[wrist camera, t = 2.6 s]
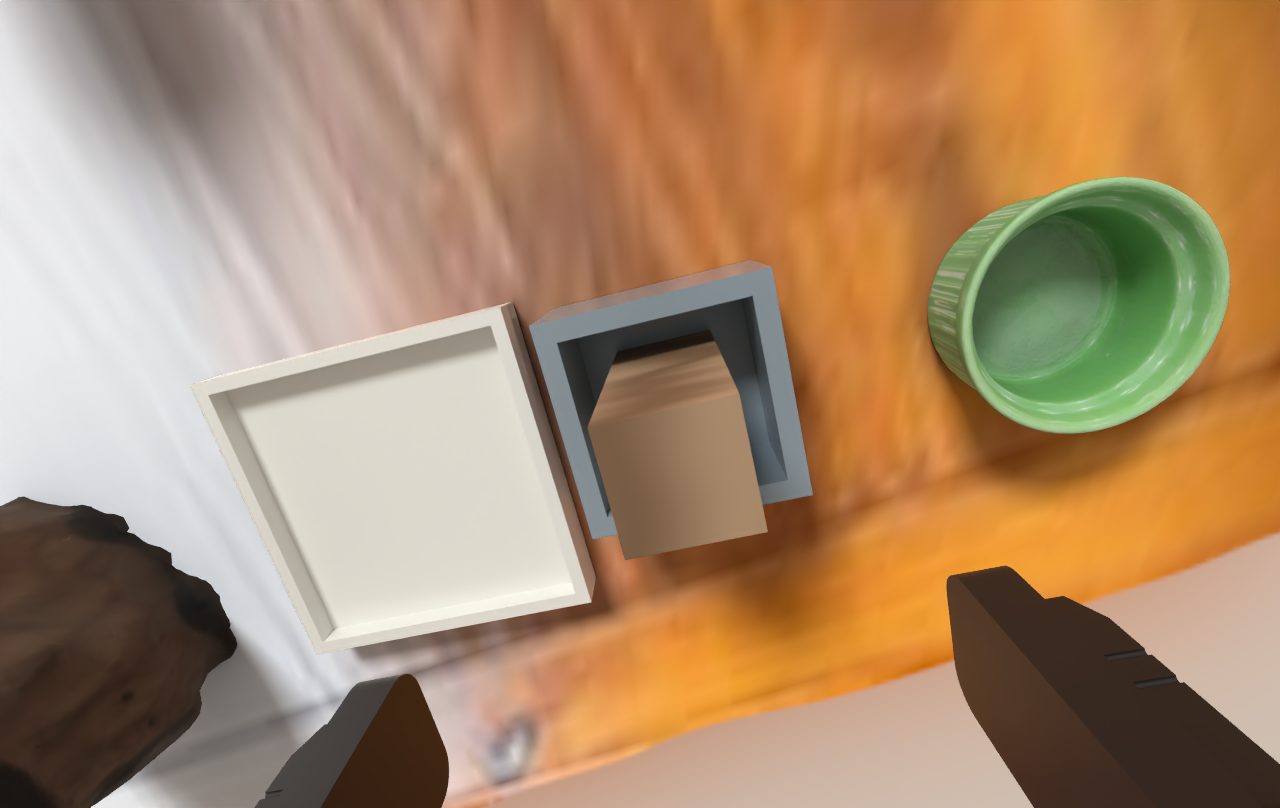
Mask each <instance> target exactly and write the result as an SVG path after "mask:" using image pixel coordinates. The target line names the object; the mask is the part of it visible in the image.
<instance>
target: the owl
mask: <svg viewBox="0 0 1280 808" xmlns="http://www.w3.org/2000/svg"><path fill="white" fill-rule="evenodd" d="M128 529H129V527H128V525H127V523H126V522H125V520H124V518H123V517H121V516H118V515H115V514H106V513H103V512H100V511H98V510H96V509H94V508H92V507H89V506H85V505H78V506H70V507H69V506H57V505H52V504H46V503H42V502H37V501H33V500H30V499H28V498H26V497H18V498H17V499H15V500H13V501H11V502H9V503H7V504H4V505H2V506H0V808H91V806H93V805H95V804H97V803H98V802H99V801H101V800H102V799H103V798H105V797H106V796H108V795H109V794H110V793H112V792H113V791H115V790H116V789H117V788H119V787H120V786H122V785H123V784H124V783H126V782H127V781H128V780H130V779H131V778H132V777H133V776H134V775H135V774H136V773H138V772H139V771H141V770H142V769H143V768H144V767H145V766H146V765H147V764H149V763H150V762H151V761H152V760H154V759H155V758H156V757H157V756H158V755H159V754H160V753H161V752H162V751H164V750H165V749H166V748H167V747H169V746H170V745H171V744H172V743H173V742H175V741H176V740H177V739H178V738H179V737H180V736H181V735H182V734H183V733H184V732H186V731H187V730H188V729H189V728H190V727H191V725H192V724H193V723H194V721H195V720H196V719H197V717H198V715H199V714H200V710H201V705H202V702H201V696H200V689H201V687H202V684H203V682H204V680H205V678H206V676H207V674H208V673H209V672H210V671H211V670H212V669H214V668H216V667H217V666H218V665H219V664H220V663H222V662H223V661H225V660H227V659H229V658H230V657H231V656H232V655H233V653H234V651H235V649H236V647H237V642H236V639H235V637H234V635H233V633H232V631H231V630H230V628H229V627H230V623H229V619H228V618H227V616H226V614H225V612H224V610H223V608H222V605H221V603H220V596H219V595H218V594H217V593H216V592H215V591H214V590H213V588H212V586H211V585H210V584H209V583H208V582H206V581H204V580H201V579H199V578H198V577H194V576H190V575H187V574H185V573H184V572H182V571H180V570H178V569H175V568H174V567H173V566H172V565H171V553H169V552H168V551H166V550H164V549H163V548H161V547H157V546H153V545H150V544H147V543H145V542H144V541H142V540H141V539H140V538H138V537H137V536H136V535H134V534H132V533H128V532H127V530H128Z"/></svg>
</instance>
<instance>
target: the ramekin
mask: <svg viewBox="0 0 1280 808" xmlns="http://www.w3.org/2000/svg"><path fill="white" fill-rule="evenodd" d="M1229 292H1230V269H1229V260H1228V255H1227V252H1226V248H1225V245H1224V243H1223V240H1222V237H1221V235H1220V233H1219V230H1218V228H1217V227H1216V225H1215V224H1214V222H1213V221H1212V219H1211V217H1210V216H1209V215H1208V214H1207V213H1206V212H1205V210H1204V209H1203V208H1202V207H1201V206H1199V205H1198V204H1197V203H1196V202H1195V201H1194V200H1193V199H1191V198H1190V197H1188V196H1187V195H1185V194H1184V193H1182V192H1181V191H1179V190H1177V189H1175V188H1173V187H1171V186H1169V185H1166V184H1163V183H1160V182H1156V181H1153V180H1148V179H1142V178H1135V177H1110V178H1101V179H1095V180H1090V181H1085V182H1081V183H1077V184H1074V185H1071V186H1068V187H1065V188H1063V189H1060V190H1057V191H1055V192H1052V193H1050V194H1048V195H1046V196H1041V197H1037V198H1032V199H1027V200H1023V201H1019V202H1016V203H1013V204H1010V205H1008V206H1005V207H1002V208H1000V209H998V210H996V211H994V212H992V213H991V214H989V215H987V216H986V217H984V218H983V219H981V220H980V221H978V222H977V223H975V224H974V225H973V226H972V227H971V228H970V229H968V230H967V231H966V232H965V233H964V234H963V235H962V236H961V237H960V238H959V239H958V240H957V241H956V242H955V244H954V245H953V246H952V247H951V249H950V250H949V251H948V253H947V254H946V255H945V257H944V259H943V261H942V262H941V264H940V266H939V268H938V270H937V272H936V275H935V278H934V280H933V283H932V287H931V291H930V294H929V299H928V325H929V329H930V335H931V338H932V340H933V343H934V346H935V348H936V350H937V352H938V353H939V355H940V357H941V359H942V361H943V362H944V363H945V364H946V366H947V367H948V368H949V369H950V370H951V371H952V372H953V373H954V374H955V375H956V376H957V377H958V378H959V379H961V380H962V381H963V382H965V383H966V384H968V385H969V386H970V387H972V388H973V389H975V390H976V391H977V392H978V393H979V394H980V396H981V397H982V398H983V399H984V400H985V401H986V402H987V403H988V404H989V405H990V406H991V407H993V408H994V409H995V410H996V411H998V412H999V413H1000V414H1002V415H1003V416H1005V417H1006V418H1008V419H1010V420H1012V421H1014V422H1016V423H1018V424H1020V425H1022V426H1025V427H1028V428H1031V429H1035V430H1039V431H1044V432H1050V433H1061V434H1075V433H1086V432H1093V431H1099V430H1103V429H1107V428H1110V427H1114V426H1117V425H1119V424H1122V423H1124V422H1127V421H1129V420H1131V419H1134V418H1136V417H1138V416H1140V415H1142V414H1144V413H1146V412H1147V411H1149V410H1150V409H1152V408H1154V407H1155V406H1157V405H1158V404H1159V403H1160V402H1162V401H1164V400H1165V399H1167V398H1168V397H1169V396H1170V395H1171V394H1173V393H1174V392H1175V391H1176V390H1177V389H1178V388H1179V387H1180V386H1182V385H1183V384H1184V383H1185V382H1186V380H1187V379H1188V378H1189V377H1190V376H1191V375H1192V374H1193V373H1194V372H1195V370H1196V369H1197V368H1198V366H1199V365H1200V364H1201V362H1202V361H1203V359H1204V358H1205V356H1206V355H1207V353H1208V352H1209V350H1210V348H1211V346H1212V345H1213V343H1214V341H1215V339H1216V337H1217V334H1218V332H1219V330H1220V328H1221V325H1222V322H1223V319H1224V316H1225V312H1226V309H1227V304H1228V300H1229Z"/></svg>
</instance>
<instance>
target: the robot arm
mask: <svg viewBox="0 0 1280 808" xmlns="http://www.w3.org/2000/svg"><path fill="white" fill-rule="evenodd" d="M947 598H948V607H949V616H950V624H951V633H952V642H953V651H954V660H955V667H956V671H957V676H958V680H959V683H960V686H961V689H962V691H963V694H964V696H965V698H966V701H967V703H968V705H969V707H970V709H971V711H972V713H973V714H974V716H975V718H976V719H977V721H978V722H979V724H980V725H981V727H982V728H983V730H984V732H985V733H986V735H987V736H988V738H989V739H990V740H991V742H992V744H993V745H994V747H995V748H996V750H997V752H998V753H999V754H1000V756H1001V758H1002V759H1003V761H1004V762H1005V764H1006V765H1007V767H1008V768H1009V770H1010V772H1011V773H1012V774H1013V776H1014V778H1015V779H1016V781H1017V782H1018V784H1019V785H1020V787H1021V788H1022V790H1023V791H1024V793H1025V795H1026V796H1027V798H1028V799H1029V801H1030V802H1031V804H1032V805H1033V807H1034V808H1280V764H1279V763H1278V762H1276V761H1275V760H1274V759H1273V758H1272V757H1271V756H1269V755H1268V754H1267V753H1266V752H1265V751H1264V750H1263V749H1261V748H1260V747H1259V746H1258V745H1257V744H1255V743H1254V742H1253V741H1252V740H1251V739H1250V738H1249V737H1247V736H1246V735H1245V734H1244V733H1243V732H1242V731H1240V730H1239V729H1238V728H1237V727H1236V726H1235V725H1233V724H1232V723H1231V722H1229V720H1228V719H1226V718H1225V717H1224V716H1223V715H1221V714H1220V713H1219V712H1218V711H1217V710H1216V709H1215V708H1213V707H1212V706H1211V705H1210V704H1209V703H1208V702H1207V701H1205V700H1204V699H1203V698H1202V697H1201V696H1199V695H1198V694H1197V693H1196V692H1195V691H1194V690H1192V689H1191V688H1190V687H1189V686H1188V685H1187V684H1185V683H1184V682H1183V683H1180V682H1179V681H1178V680H1177V678H1176V675H1175V674H1174V673H1173V672H1171V671H1170V670H1169V669H1168V668H1167V667H1165V666H1164V665H1163V664H1162V663H1161V662H1160V661H1158V660H1157V659H1156V658H1155V657H1154V656H1153V655H1147V653H1146V652H1145V649H1144V648H1143V647H1142V646H1141V645H1140V644H1139V643H1138V642H1136V641H1135V640H1134V639H1133V638H1131V636H1129V635H1128V634H1127V633H1126V632H1125V631H1124V630H1122V629H1121V628H1120V627H1119V626H1117V624H1115V623H1114V622H1113V621H1112V620H1111V619H1110V618H1108V617H1106V616H1104V615H1102V614H1100V613H1098V612H1096V611H1093V610H1092V609H1089V608H1087V607H1085V606H1083V605H1081V604H1079V603H1077V602H1075V601H1073V600H1071V599H1069V598H1067V597H1065V596H1060V597H1055V598H1049V599H1044V598H1043V597H1042V596H1041V595H1040V594H1039V593H1038V592H1037V591H1036V590H1035V589H1033V588H1032V587H1031V586H1030V585H1029V584H1028V583H1027V582H1026V581H1025V580H1024V579H1023V578H1022V577H1021V576H1020V575H1019V574H1018V573H1017V572H1016V571H1014V570H1013V569H1012V568H1010V567H1008V566H1000V567H995V568H989V569H984V570H978V571H973V572H967V573H962V574H957V575H951V576H949V577H948V579H947ZM448 780H449V763H448V756H447V752H446V749H445V746H444V744H443V741H442V739H441V737H440V734H439V732H438V729H437V727H436V724H435V722H434V720H433V717H432V715H431V712H430V710H429V707H428V705H427V703H426V700H425V698H424V695H423V693H422V690H421V688H420V686H419V684H418V682H417V680H416V679H415V678H414V677H413V676H412V675H410V674H403V675H397V676H392V677H386V678H381V679H375V680H370V681H364V682H360V683H358V684H356V685H355V686H354V687H353V688H352V689H351V691H350V692H349V693H348V695H347V696H346V698H345V699H344V701H343V702H342V704H341V705H340V707H339V708H338V710H337V711H336V713H335V714H334V716H333V717H332V718H331V720H330V721H329V723H328V724H326V725H324V726H323V727H322V728H321V729H319V730H318V731H317V732H316V733H315V734H314V735H313V736H312V737H311V738H310V739H309V740H308V741H307V742H306V743H305V744H304V745H303V746H302V747H300V748H299V749H298V750H297V751H296V752H295V753H294V754H293V755H292V756H291V757H290V758H289V760H288V761H287V763H286V764H285V766H284V767H283V768H282V770H281V771H280V773H279V774H278V775H277V777H276V778H275V780H274V781H273V782H272V784H271V785H270V787H269V788H268V790H267V791H266V797H265V799H261V800H260V801H259V802H258V804H257V805H256V806H255V808H441V807H442V804H443V802H444V799H445V796H446V792H447V787H448Z"/></svg>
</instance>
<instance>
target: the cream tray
mask: <svg viewBox="0 0 1280 808" xmlns="http://www.w3.org/2000/svg"><path fill="white" fill-rule="evenodd" d="M190 387H191V390H192V392H193V394H194V396H195V398H196V400H197V402H198V404H199V407H200V409H201V411H202V413H203V415H204V417H205V419H206V421H207V424H208V426H209V428H210V430H211V432H212V434H213V436H214V438H215V440H216V443H217V445H218V447H219V449H220V451H221V453H222V455H223V457H224V460H225V462H226V464H227V466H228V468H229V470H230V472H231V474H232V477H233V479H234V481H235V483H236V485H237V487H238V489H239V491H240V494H241V496H242V498H243V500H244V502H245V504H246V506H247V508H248V511H249V513H250V515H251V517H252V519H253V521H254V523H255V525H256V528H257V530H258V532H259V534H260V536H261V538H262V540H263V542H264V545H265V547H266V549H267V551H268V553H269V555H270V557H271V559H272V562H273V564H274V566H275V568H276V570H277V572H278V574H279V576H280V579H281V581H282V583H283V585H284V587H285V589H286V591H287V593H288V596H289V598H290V600H291V602H292V604H293V606H294V608H295V610H296V613H297V615H298V617H299V619H300V621H301V623H302V625H303V627H304V630H305V632H306V634H307V636H308V638H309V640H310V642H311V644H312V647H313V649H314V651H315V653H316V655H317V654H322V653H328V652H333V651H338V650H343V649H349V648H354V647H359V646H364V645H370V644H375V643H380V642H385V641H391V640H396V639H401V638H406V637H412V636H417V635H422V634H428V633H433V632H438V631H443V630H449V629H454V628H459V627H464V626H470V625H475V624H480V623H485V622H491V621H496V620H501V619H506V618H512V617H517V616H522V615H527V614H533V613H538V612H543V611H548V610H554V609H559V608H564V607H569V606H575V605H580V604H585V603H590V602H592V597H593V592H594V586H595V581H596V576H595V572H594V569H593V566H592V562H591V559H590V556H589V552H588V549H587V546H586V543H585V539H584V536H583V533H582V529H581V526H580V523H579V520H578V516H577V513H576V510H575V506H574V503H573V500H572V496H571V493H570V490H569V487H568V483H567V480H566V477H565V473H564V470H563V467H562V463H561V460H560V457H559V454H558V450H557V447H556V444H555V440H554V437H553V434H552V430H551V427H550V424H549V421H548V417H547V414H546V411H545V407H544V404H543V401H542V397H541V394H540V391H539V388H538V384H537V381H536V378H535V374H534V371H533V368H532V364H531V361H530V358H529V355H528V351H527V348H526V345H525V341H524V338H523V335H522V331H521V328H520V325H519V322H518V318H517V315H516V312H515V308H514V305H513V302H509V303H505V304H501V305H497V306H493V307H489V308H485V309H481V310H477V311H473V312H469V313H465V314H461V315H457V316H453V317H449V318H445V319H441V320H437V321H433V322H429V323H425V324H421V325H417V326H413V327H409V328H405V329H401V330H397V331H393V332H389V333H385V334H381V335H377V336H373V337H369V338H365V339H361V340H357V341H353V342H349V343H345V344H341V345H337V346H333V347H329V348H325V349H321V350H317V351H313V352H309V353H305V354H301V355H297V356H293V357H289V358H285V359H281V360H277V361H273V362H269V363H265V364H261V365H257V366H253V367H249V368H245V369H241V370H237V371H233V372H229V373H225V374H222V375H219V376H216V377H213V378H210V379H207V380H203V381H200V382H197V383H194V384H191V385H190Z"/></svg>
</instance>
